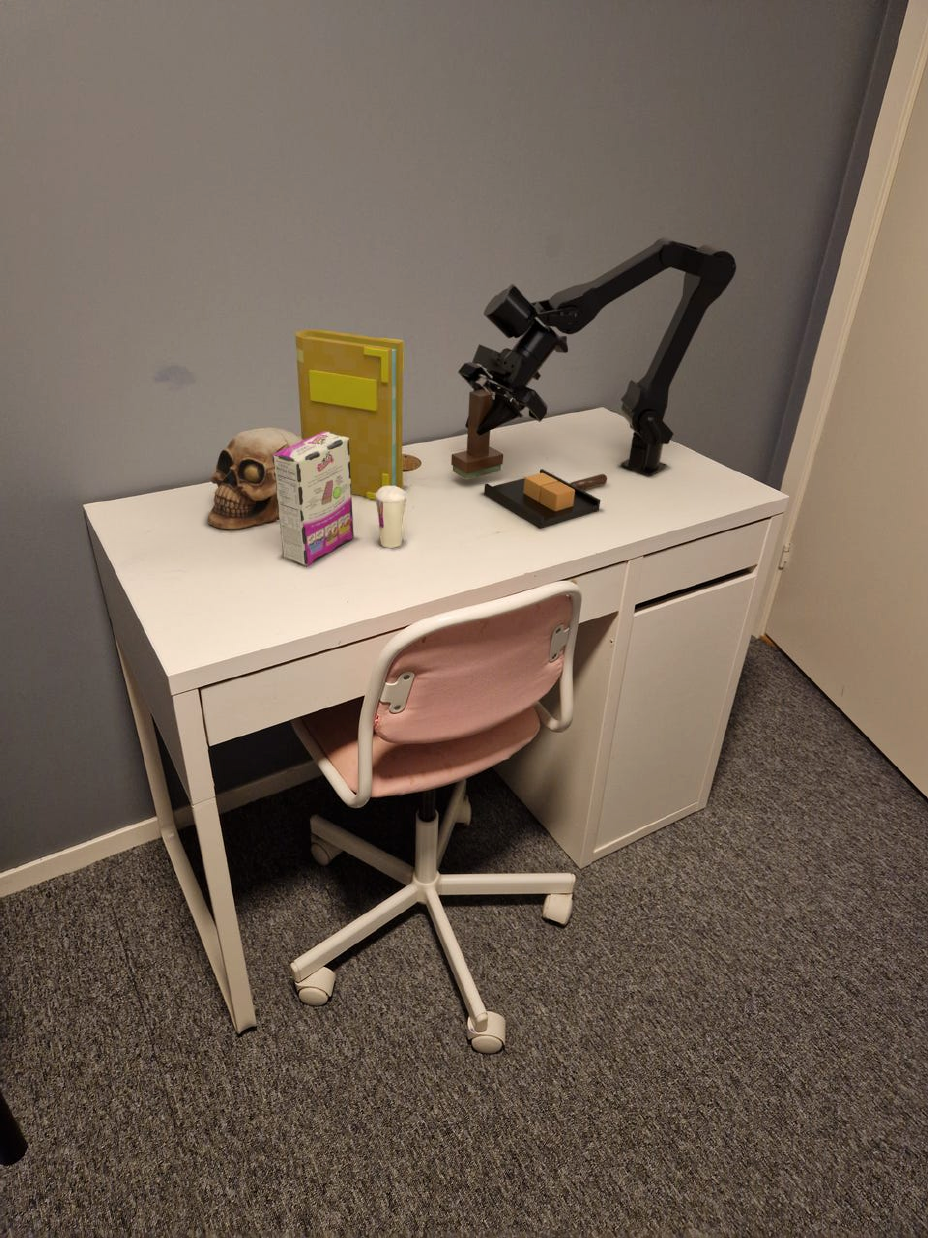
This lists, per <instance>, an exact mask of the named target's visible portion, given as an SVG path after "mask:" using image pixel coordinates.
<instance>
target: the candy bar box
mask: <svg viewBox="0 0 928 1238" xmlns="http://www.w3.org/2000/svg"><path fill="white" fill-rule="evenodd" d="M273 460H274V469H275V479H276V489H277V499H278V508H279V518H278V519H279V528H280V536H281V537H280V538H281V547H282V548H281V549H282V556H283V558H284V559H286V560H289V561H291V562H295V563H297V564H300V565H302V566H305V567H308V566H310V565H311V564H314V563H315V562H317V561H318V560H321V559H322V558H324V557H325V556H326V555H328V554H330V553H332V552H333V551H335V550H336V549H338V548H340V547H341V546H343V545H345V544H346V543H348V542H349V541H351V540H352V539H354V537H355V536H354V521H353V520H354V518H353V501H352V494H351V476H350V456H349V438H347V437H344V436H340V435H337V434H334V433H331V432H327V431H323V432H321V433H319V434H317V435H315V436H312V437H310V438H308V439H306V440H303V441H301V442H299V443H297V444H295V445H292V446H290V447H288V448H286V449H284V450H281V451H279V452H277V453H275V454H273Z"/></svg>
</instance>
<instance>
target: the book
mask: <svg viewBox="0 0 928 1238" xmlns="http://www.w3.org/2000/svg"><path fill="white" fill-rule="evenodd" d="M295 351H296V368H297V371H296V372H297V385H298V386H297V387H298V400H299V401H298V402H299V416H300V417H299V419H300V433H301V435H300V437H301V438H302V439H303V440H306V439H308V438H310V437H312V436H315V435H317V434H319V433H321V432H323V431H327V432H331V433H334V434H337V435H340V436H344V437H347V438H349V456H350V476H351V495H355V496H360V497H366V499H369V500H374V501H376V496H375V495H376V492H377V491H378V490H379V489H380V488H381V487H383V486H397V487H399V488H401V489H403V488H404V460H403V420H404V419H403V417H404V416H403V414H404V413H403V407H404V405H403V399H404V397H403V395H404V393H403V392H404V391H403V390H404V383H403V382H404V377H403V376H404V372H405V340H402V339H395V338H388V337H374V336H369V335H368V336H367V335H361V334H353V333H347V332H340V331H332V330H325V329H316V328H314V329H313V328H312V329H303V330H298V331H296V332H295Z"/></svg>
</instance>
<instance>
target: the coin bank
mask: <svg viewBox="0 0 928 1238" xmlns="http://www.w3.org/2000/svg"><path fill="white" fill-rule="evenodd" d="M301 441H303V439H302V436H299V435H298V434H296V433H293V432H292V431H289V430H286V429H283V428H278V427H259V428H254V429H249V430H244V431H241V432H238V433H236V434H235V435H234V436H233V437H232V439H231V440H230V442H229V444H228V445H227V446H226V447H225V448H222V450H221V451H220V452H219V455H218V458H217V462H216V465H215V472H214V473H213V475H212V476H211V477H210V481H211V483H212V484H213V485H216V486H217V488H216V489H215V491H214V498H213V502H214V503H213V506H212V508H211V510H210V513H209V514H208V516H207V524H208V525H209V526H213V527H214V528H216V529H222V530H223V529H224V530H240V529H245V528H251V527H252V526H256V525H257V526H258V525H262V524H265V523H272V522H276V521H277V520H279V519H280V518H279V508H278V499H277V489H276V479H275V469H274V460H273V454H275V453H277V452H279V451H281V450H284V449H286V448H288V447H290V446H292V445H295V444H297V443H299V442H301Z"/></svg>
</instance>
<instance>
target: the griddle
mask: <svg viewBox="0 0 928 1238" xmlns="http://www.w3.org/2000/svg"><path fill="white" fill-rule="evenodd" d="M542 472H543V473H545V474H546V475H548V476H550V477H552V478H554V479H556V480H558V482H561V483H563V484H565V485H567V486H569V487H571V488H572V489H574V490H575V495H574V503H573V506H572V507H569V508H566V509H562V510H559V511H553V510H552V509H550V508H548V507H546V506H545V505H543V504H541V503H540V501H539V502H538V501H536V500H534V499H532V498H531V497H529V496H527V495H525V494H524V493H523V491H524V479H525V477H523V478H519V479H515V480H511V481H507V482H503V483H500V484H496V485H491V484H489V483H485V484H484V492H483V495H484V496H486V497H487V498H489V499H490V500H492V501H493V502H496V503H497V504H499V505H500V506H502V507H504V508H505V509H507V510H508V511H510V512H512V513H514V514H515V515H516V516H518V517H520V518H522V519H523V520H525V521H527V522H528V523H530V524H532V525H533V526H534V527H537V528H538V529H544V528H547V527H550V526H555V525H557V524H560V523H563V522H567V521H570V520H573V519H576V518H579V517H582V516H586V515H589V514H592V513H593V514H594V513H596V512H599V511H600V505H601V499H599V498H598V497H596V496H595V495H592V494H591V493H590V494H589V493H588V492H587V491H584V490H588V489H591V488H595V487H598V486H601V485H604V484H606V483H608V476H607V475H606V474H604V473H600V474H596V475H592V476H590V477H586V478H582V479H579V480H574V481H571V482H568V481H566V480H564V479H562V478H560V477H558V476H557V475H555V474H553V473H551V472H549V471H547V470H546V469H543V468H541V469H539V473H542Z"/></svg>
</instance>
